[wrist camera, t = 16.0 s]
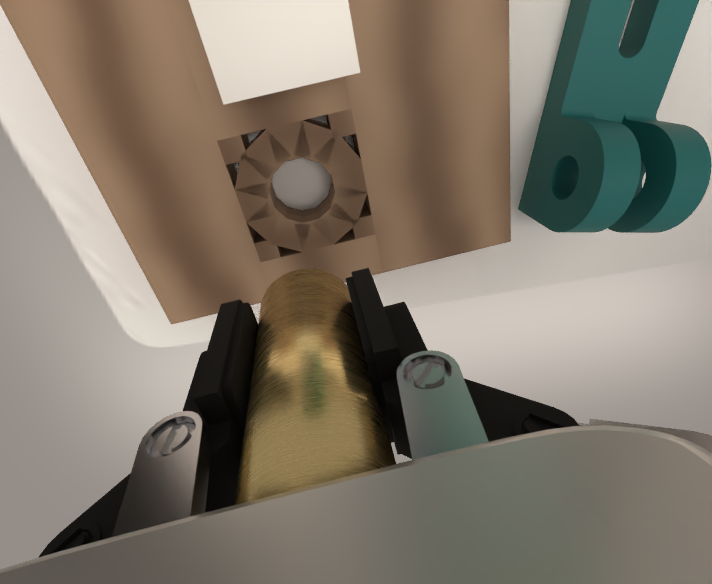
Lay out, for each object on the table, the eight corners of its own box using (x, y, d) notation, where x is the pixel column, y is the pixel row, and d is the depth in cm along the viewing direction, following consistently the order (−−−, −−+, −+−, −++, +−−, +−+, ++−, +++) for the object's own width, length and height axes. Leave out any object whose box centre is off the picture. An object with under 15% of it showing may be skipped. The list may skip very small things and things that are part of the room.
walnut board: (486, -121, 21) (507, -142, 19) (495, 229, 31) (510, 241, 29) (18, -13, 21) (-14, -22, 19) (179, 306, 31) (171, 324, 29)
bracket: (596, 209, 32) (678, 248, 25) (517, 208, 31) (579, 248, 24) (703, -96, 23) (872, -162, 16) (596, -110, 22) (729, -187, 16)
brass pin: (362, 335, 14) (431, 605, 7) (276, 356, 14) (261, 650, 7) (343, 258, 12) (408, 504, 5) (247, 281, 12) (189, 561, 5)
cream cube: (345, 70, 23) (360, 72, 17) (239, 95, 22) (223, 104, 17) (318, -69, 20) (327, -117, 14) (197, -41, 19) (161, -79, 14)
